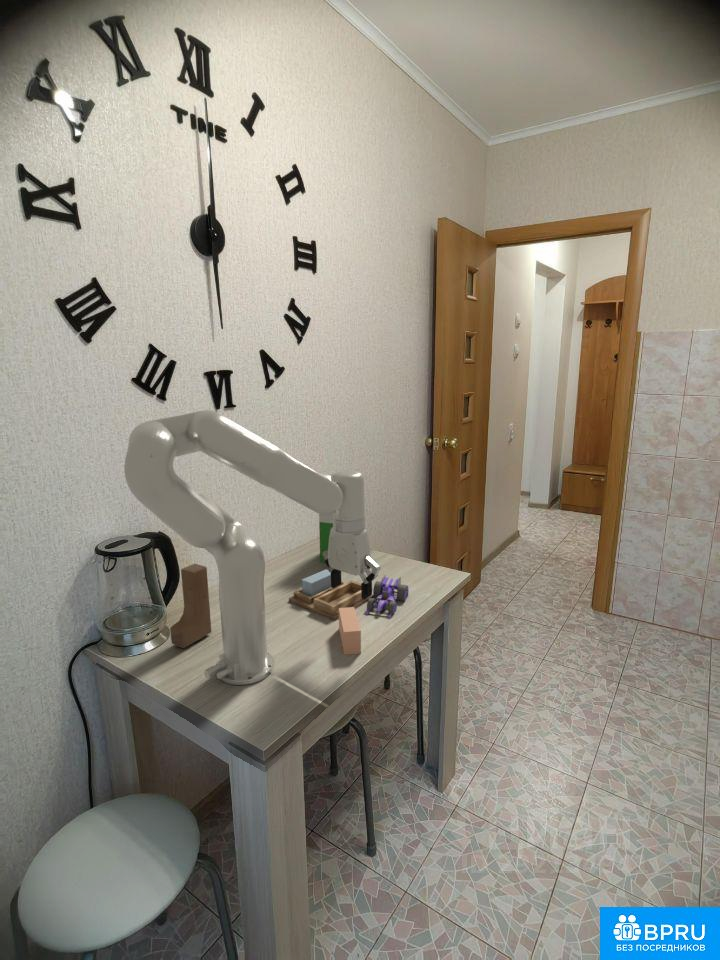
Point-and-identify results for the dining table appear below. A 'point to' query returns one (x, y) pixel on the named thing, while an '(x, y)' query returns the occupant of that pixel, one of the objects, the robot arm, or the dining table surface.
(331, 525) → the hardback book
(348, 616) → the salmon orange rectangular block
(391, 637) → the dining table surface
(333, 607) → the jig
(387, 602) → the toy race car
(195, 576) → the wooden block
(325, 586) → the light blue block
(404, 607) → the dining table surface
